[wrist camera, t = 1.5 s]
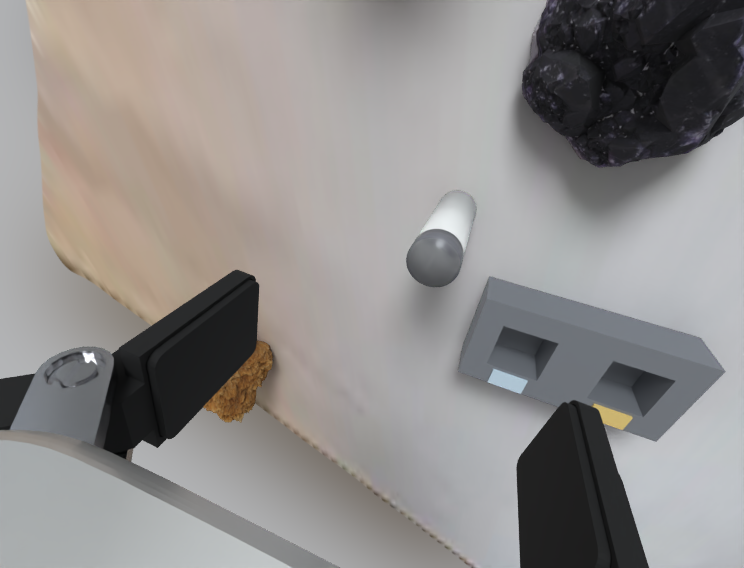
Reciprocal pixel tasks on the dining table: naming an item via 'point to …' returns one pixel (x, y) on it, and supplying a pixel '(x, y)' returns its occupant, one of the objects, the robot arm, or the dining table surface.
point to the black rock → (637, 75)
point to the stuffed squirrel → (242, 386)
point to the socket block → (586, 358)
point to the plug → (442, 241)
